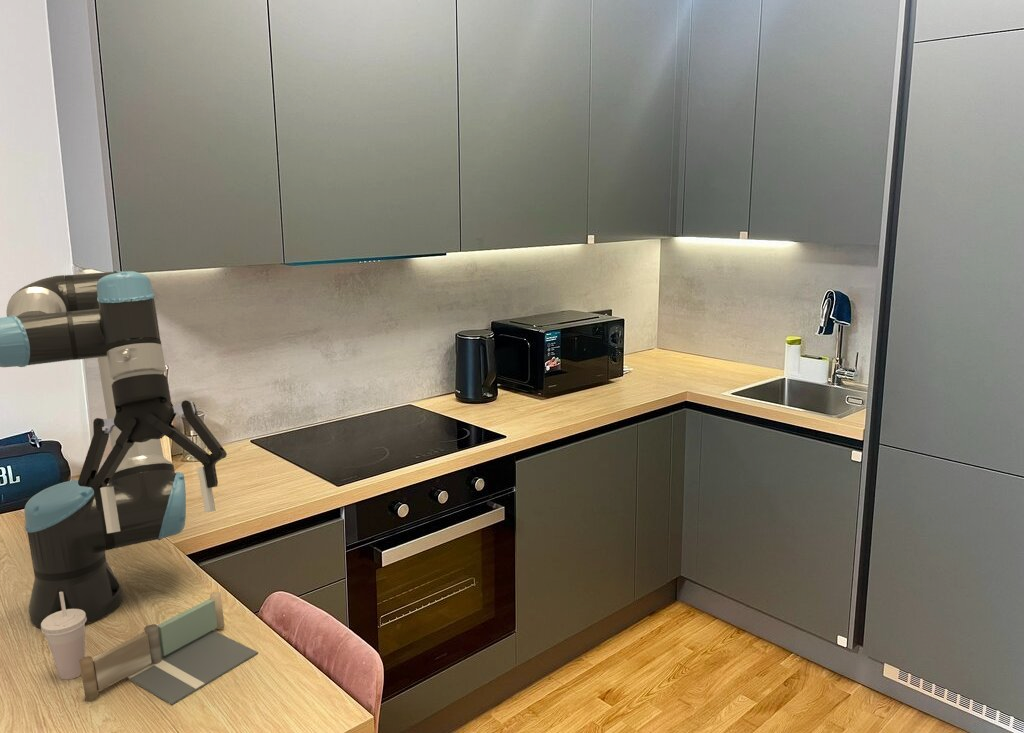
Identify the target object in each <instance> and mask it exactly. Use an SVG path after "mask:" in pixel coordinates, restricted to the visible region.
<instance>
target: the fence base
mask: <svg viewBox="0 0 1024 733" xmlns="http://www.w3.org/2000/svg"><path fill="white" fill-rule="evenodd" d="M157 625H158V624H156V623H155V624H154V623H152V624H151V623H150V624H148V625H146V626H145V627H144V628H143V630H144V632H143V631H142V632H141V633H139V634H137V635H136V636H133V637H131V638H129V639H126V640H125V641H123V642H121V643H119V644H117V645H115V646H113V647H111V648H108V649H107V650H105V651H103V652H101V653H99V654H97V655H95V656H94V657H92V656H91V655H87V656H86V655H85V657H83V658H82V659H80V660H79V663H80V669H81V675H80V676H81V680H82V687H83V688H82V689H83V693H84V699H85V701H86V702H93V701H96V700H97V699H98V698H99V692H100V691H103V690H105V689H107V688H108V687H110V686H112V685H114V684H115V683H117V682H120V681H121V680H122V679H126V678H125V677H127V676H128V675H130V674H132V673H134V672H136V671H138V670H140V669H141V668H143V667H145V666H147V665H149V664H158V663H160V662H161V661H162V655H161V647H160V640H159V633H158V626H157Z"/></svg>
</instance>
